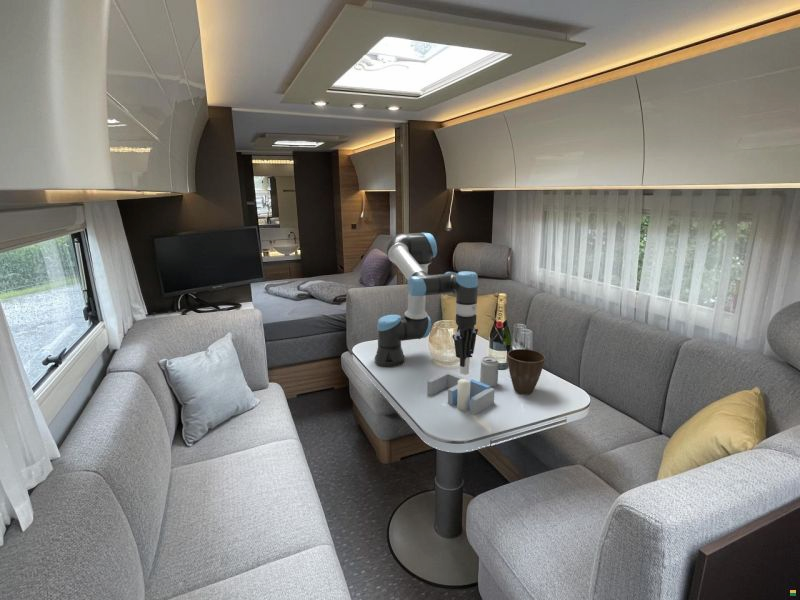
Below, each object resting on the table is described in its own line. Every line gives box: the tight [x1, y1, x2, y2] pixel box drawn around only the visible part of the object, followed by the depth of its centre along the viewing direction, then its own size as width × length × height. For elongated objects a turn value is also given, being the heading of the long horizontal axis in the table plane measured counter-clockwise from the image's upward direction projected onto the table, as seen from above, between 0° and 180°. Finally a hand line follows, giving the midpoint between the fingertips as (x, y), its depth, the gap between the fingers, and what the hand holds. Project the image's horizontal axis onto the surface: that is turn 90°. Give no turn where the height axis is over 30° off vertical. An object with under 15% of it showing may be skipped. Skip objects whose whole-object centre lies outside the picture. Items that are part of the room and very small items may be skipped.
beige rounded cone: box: [456, 378, 471, 412], centre depth 154 cm, size 5×5×11 cm
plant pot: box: [507, 348, 546, 395], centre depth 166 cm, size 15×15×16 cm
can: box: [479, 355, 499, 388], centre depth 173 cm, size 8×8×12 cm
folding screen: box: [426, 371, 496, 416], centre depth 161 cm, size 24×13×7 cm, turn 44°
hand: (464, 373), depth 151 cm, fingers closed
